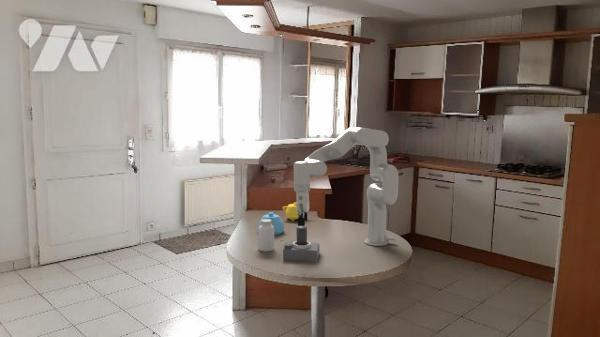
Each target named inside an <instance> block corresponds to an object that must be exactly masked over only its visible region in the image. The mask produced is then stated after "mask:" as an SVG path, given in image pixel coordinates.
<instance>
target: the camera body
mask: <svg viewBox="0 0 600 337" xmlns="http://www.w3.org/2000/svg"><path fill="white" fill-rule="evenodd" d="M320 245H321V244H320V243H319V242H310V241H309V240H307V245H297V240H295V241H287V242H285V243H284V246H283V249H282V260H285V261H286V260H287V261H306V262H318V259H319V256H320V250H321V249H320V248H321V247H320Z"/></svg>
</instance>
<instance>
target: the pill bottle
mask: <svg viewBox="0 0 600 337" xmlns="http://www.w3.org/2000/svg"><path fill="white" fill-rule="evenodd" d="M260 220H261V219H260ZM271 224H272V221H271V220H270V219H263V220H261V225H260V226H259V228H258V227H257V231H258V233H257V234H258V237H257V240H258V243H257V244H258V250H259V251H261V252H272V251H273V250H275V235H274V226H273V225H271Z"/></svg>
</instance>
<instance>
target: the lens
mask: <svg viewBox="0 0 600 337" xmlns="http://www.w3.org/2000/svg"><path fill="white" fill-rule="evenodd" d="M295 230H296V232H295V233H296V234H295V235H296V236H295V237H296V241H297V245H307V241H308V227H307V226H297V227H296V228H295Z"/></svg>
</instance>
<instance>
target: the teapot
mask: <svg viewBox="0 0 600 337" xmlns="http://www.w3.org/2000/svg"><path fill="white" fill-rule="evenodd" d="M310 204H311V202H309V205H310ZM282 210H283V212H284V213H285V216H286V218H287V219H288V220H290V221H291V222H294V221H295V220H298V212H297V202H293V203H290V204H288V205H284V206H282Z"/></svg>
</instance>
